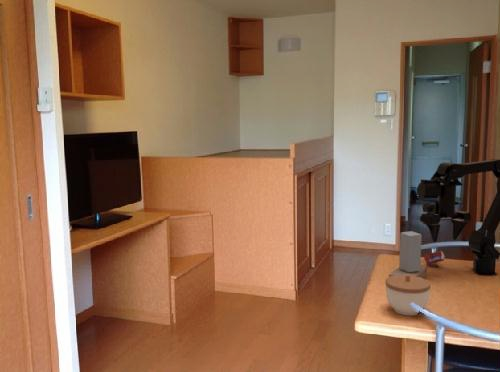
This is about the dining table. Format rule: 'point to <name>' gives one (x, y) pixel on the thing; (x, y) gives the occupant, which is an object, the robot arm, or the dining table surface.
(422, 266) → the brick
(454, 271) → the dining table surface
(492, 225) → the robot arm
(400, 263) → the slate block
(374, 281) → the dining table surface
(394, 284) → the lidded bowl
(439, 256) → the geometric puzzle
